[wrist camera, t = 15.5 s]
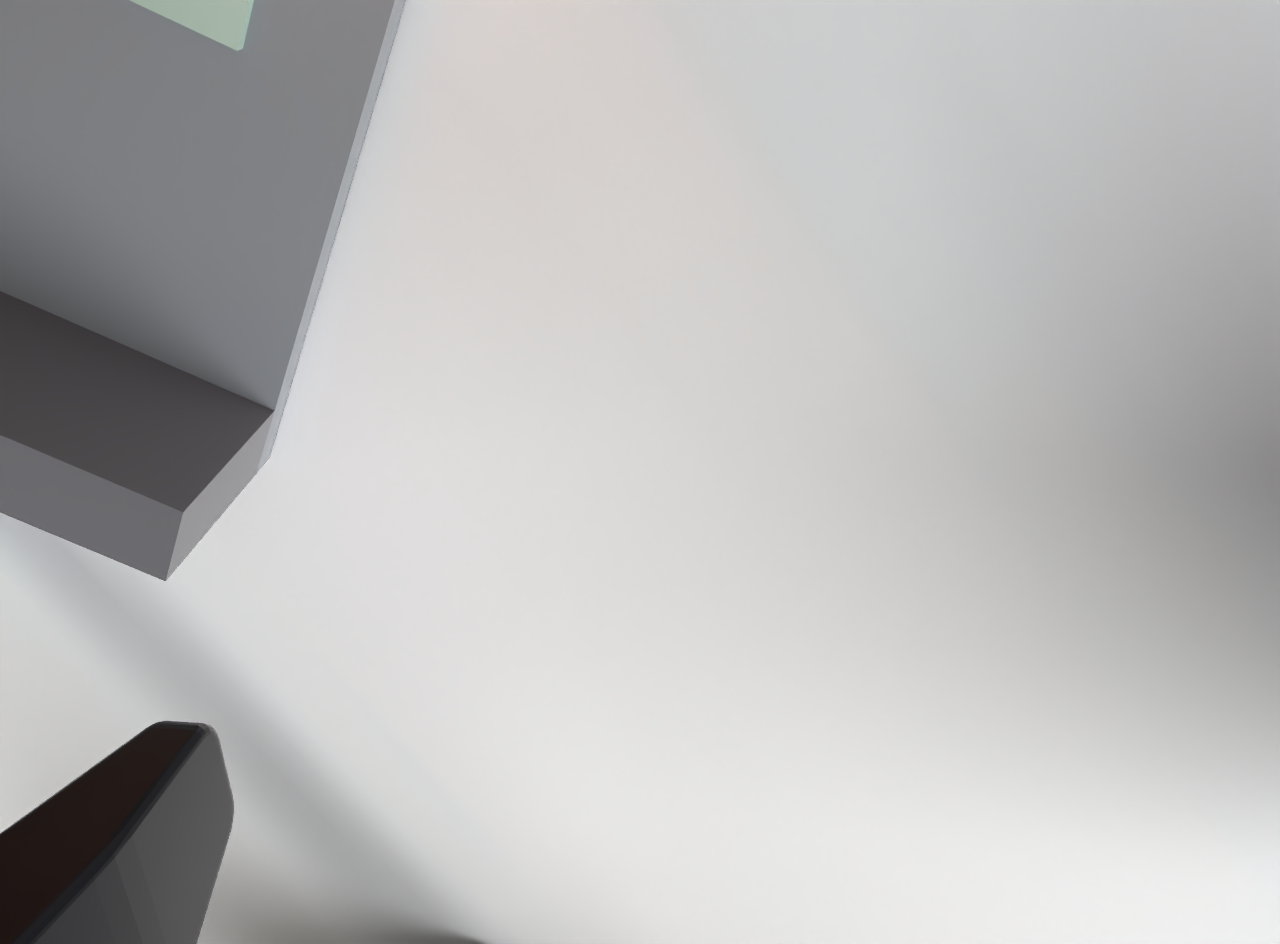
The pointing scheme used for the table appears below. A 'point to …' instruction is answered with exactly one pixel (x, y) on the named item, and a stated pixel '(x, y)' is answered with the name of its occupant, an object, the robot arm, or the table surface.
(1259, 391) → the table surface
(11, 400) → the tray
